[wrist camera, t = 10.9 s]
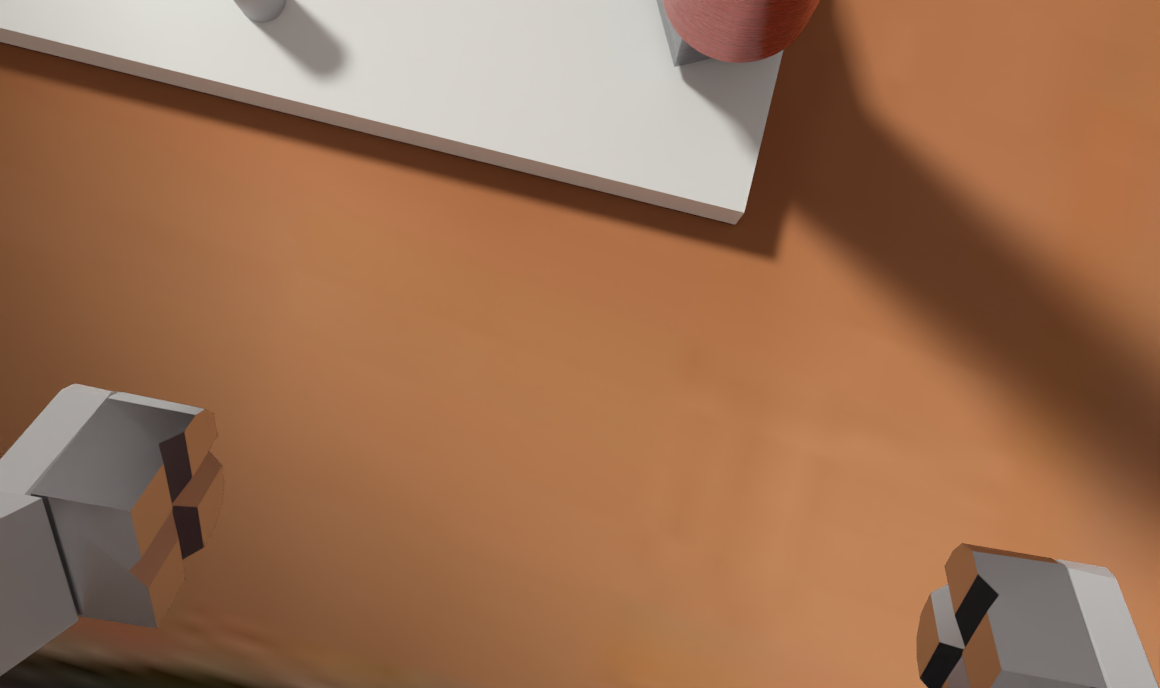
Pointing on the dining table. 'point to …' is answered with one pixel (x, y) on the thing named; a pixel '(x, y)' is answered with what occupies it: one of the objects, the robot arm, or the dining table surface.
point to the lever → (732, 28)
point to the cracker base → (453, 81)
